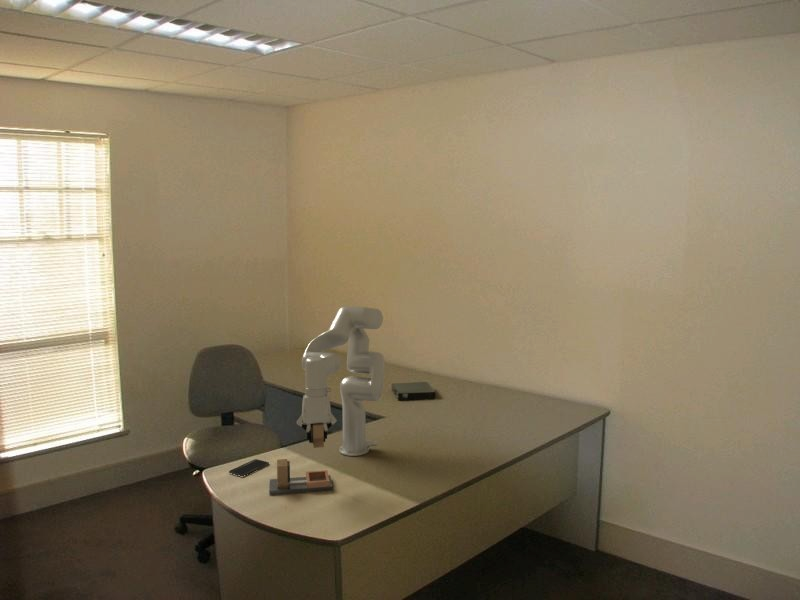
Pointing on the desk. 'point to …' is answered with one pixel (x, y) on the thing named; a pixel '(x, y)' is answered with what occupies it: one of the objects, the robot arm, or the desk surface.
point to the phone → (249, 467)
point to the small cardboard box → (317, 435)
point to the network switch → (413, 391)
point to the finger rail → (298, 481)
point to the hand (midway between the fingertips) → (317, 440)
